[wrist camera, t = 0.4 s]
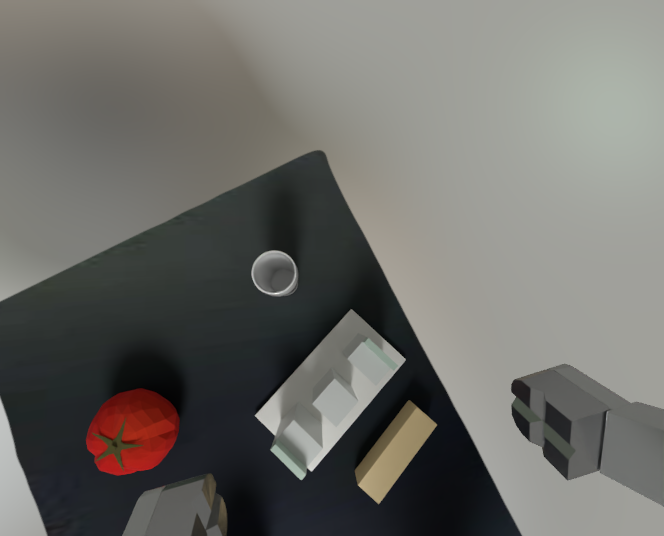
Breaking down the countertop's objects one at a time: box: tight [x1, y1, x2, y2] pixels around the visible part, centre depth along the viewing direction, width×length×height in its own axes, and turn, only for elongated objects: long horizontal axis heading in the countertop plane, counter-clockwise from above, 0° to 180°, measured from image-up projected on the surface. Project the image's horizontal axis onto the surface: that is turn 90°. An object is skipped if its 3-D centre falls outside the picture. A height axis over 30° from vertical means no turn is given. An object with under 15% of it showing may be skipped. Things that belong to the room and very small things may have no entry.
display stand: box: [255, 309, 406, 480], centre depth 51 cm, size 14×26×13 cm, turn 137°
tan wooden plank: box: [355, 400, 437, 504], centre depth 54 cm, size 4×16×5 cm, turn 139°
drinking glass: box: [252, 250, 299, 296], centre depth 52 cm, size 7×7×15 cm
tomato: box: [86, 388, 180, 475], centre depth 50 cm, size 13×12×11 cm
